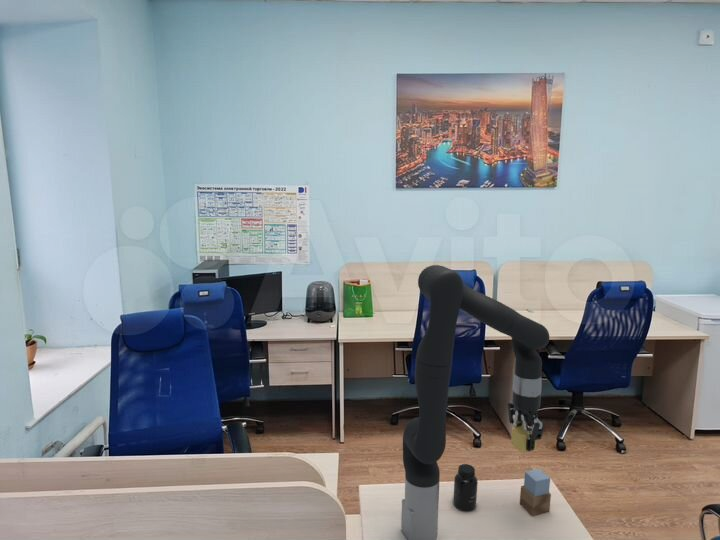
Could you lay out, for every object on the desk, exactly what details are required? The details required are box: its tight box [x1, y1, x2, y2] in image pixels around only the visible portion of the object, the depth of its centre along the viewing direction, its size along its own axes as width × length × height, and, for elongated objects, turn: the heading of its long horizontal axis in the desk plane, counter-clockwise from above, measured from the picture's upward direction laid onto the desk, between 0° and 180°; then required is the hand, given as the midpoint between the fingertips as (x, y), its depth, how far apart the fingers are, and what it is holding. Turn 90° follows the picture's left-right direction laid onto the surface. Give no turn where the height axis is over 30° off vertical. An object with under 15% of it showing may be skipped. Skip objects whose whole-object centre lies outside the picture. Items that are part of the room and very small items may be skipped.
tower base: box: [519, 484, 552, 517], centre depth 149 cm, size 6×6×6 cm
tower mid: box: [523, 468, 551, 497], centre depth 148 cm, size 5×5×5 cm
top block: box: [510, 426, 538, 453], centre depth 143 cm, size 5×5×5 cm
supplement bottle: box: [452, 463, 478, 512], centre depth 150 cm, size 7×7×12 cm
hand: (523, 444), depth 143 cm, fingers closed on top block, 5 cm apart
